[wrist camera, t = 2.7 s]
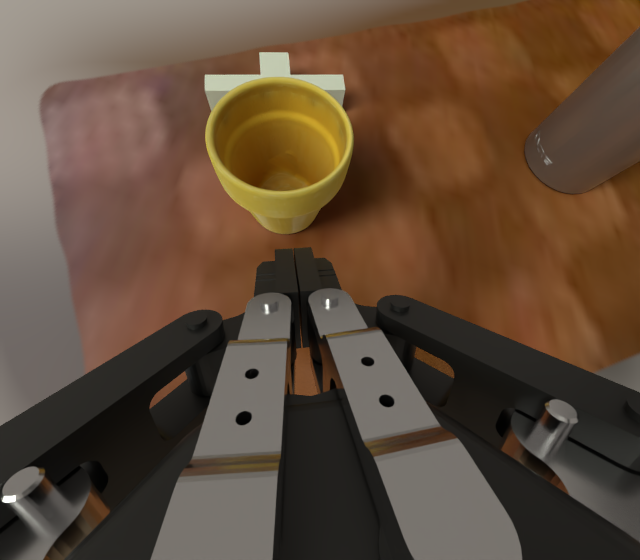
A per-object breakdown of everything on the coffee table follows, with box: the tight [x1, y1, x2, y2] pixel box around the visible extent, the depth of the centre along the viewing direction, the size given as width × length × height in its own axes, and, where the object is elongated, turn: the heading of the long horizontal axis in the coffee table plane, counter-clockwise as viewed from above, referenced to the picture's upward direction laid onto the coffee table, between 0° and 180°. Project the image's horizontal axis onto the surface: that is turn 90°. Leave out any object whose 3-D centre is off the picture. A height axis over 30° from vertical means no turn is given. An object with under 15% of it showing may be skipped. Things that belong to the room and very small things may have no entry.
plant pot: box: [205, 77, 354, 234], centre depth 26 cm, size 10×10×10 cm
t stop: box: [205, 52, 345, 111], centre depth 32 cm, size 14×5×3 cm, turn 96°
